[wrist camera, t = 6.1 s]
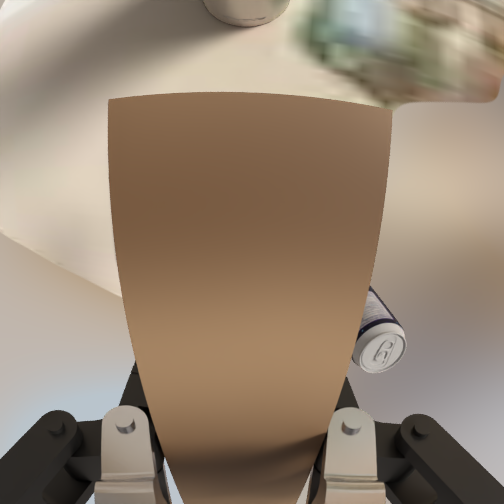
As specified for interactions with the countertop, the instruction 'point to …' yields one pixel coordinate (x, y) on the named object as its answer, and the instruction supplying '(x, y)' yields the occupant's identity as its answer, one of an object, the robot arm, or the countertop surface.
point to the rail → (244, 275)
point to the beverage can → (378, 337)
